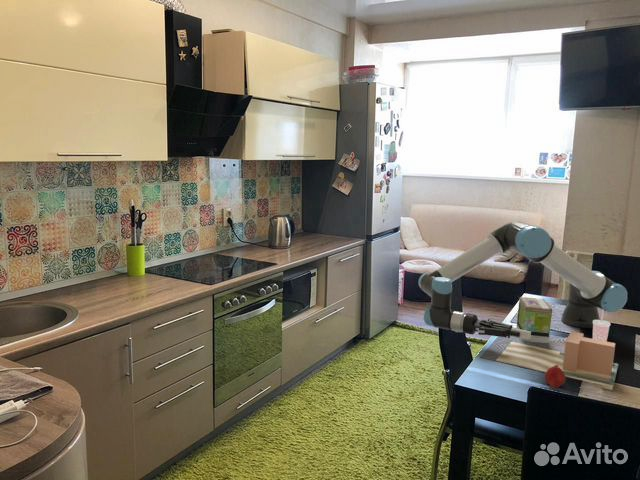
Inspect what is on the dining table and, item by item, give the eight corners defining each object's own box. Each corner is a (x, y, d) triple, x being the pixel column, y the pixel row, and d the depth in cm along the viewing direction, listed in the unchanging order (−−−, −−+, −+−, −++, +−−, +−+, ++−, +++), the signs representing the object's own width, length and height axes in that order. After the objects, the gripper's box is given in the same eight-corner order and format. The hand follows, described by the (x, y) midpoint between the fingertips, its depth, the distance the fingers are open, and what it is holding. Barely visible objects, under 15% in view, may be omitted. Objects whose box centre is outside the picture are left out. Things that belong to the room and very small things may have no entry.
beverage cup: (607, 348, 201) (611, 313, 199) (589, 345, 205) (593, 310, 202) (608, 343, 206) (612, 309, 204) (591, 340, 210) (594, 306, 207)
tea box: (549, 346, 203) (553, 308, 200) (521, 343, 205) (525, 306, 202) (541, 332, 217) (544, 297, 215) (515, 330, 219) (518, 295, 217)
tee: (568, 358, 189) (571, 331, 187) (612, 367, 181) (616, 339, 180) (562, 369, 179) (565, 341, 177) (609, 380, 171) (613, 350, 170)
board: (511, 344, 204) (511, 340, 204) (618, 366, 185) (618, 362, 184) (495, 363, 186) (496, 358, 185) (612, 390, 167) (612, 385, 166)
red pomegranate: (540, 384, 170) (542, 360, 168) (557, 384, 170) (560, 360, 169) (549, 392, 164) (552, 368, 163) (567, 392, 164) (570, 368, 163)
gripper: (469, 327, 207) (533, 340, 195) (458, 337, 196) (525, 351, 184) (470, 309, 206) (535, 320, 193) (459, 317, 195) (527, 330, 183)
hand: (530, 335), depth 189 cm, fingers closed
